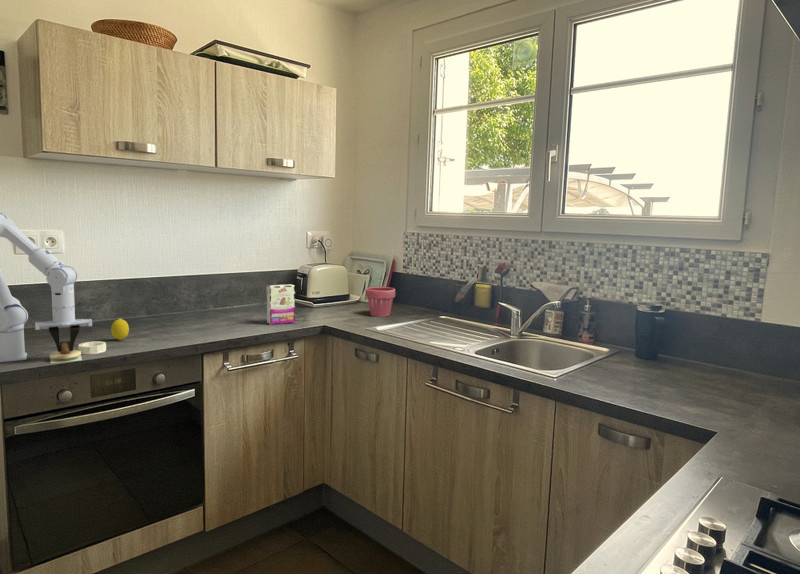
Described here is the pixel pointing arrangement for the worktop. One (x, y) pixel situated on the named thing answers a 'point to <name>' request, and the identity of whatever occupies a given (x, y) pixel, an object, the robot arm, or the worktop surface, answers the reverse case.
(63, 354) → the lid
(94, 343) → the bowl
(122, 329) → the lemon
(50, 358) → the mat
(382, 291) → the plant pot
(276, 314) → the candy bar box
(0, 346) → the robot arm
